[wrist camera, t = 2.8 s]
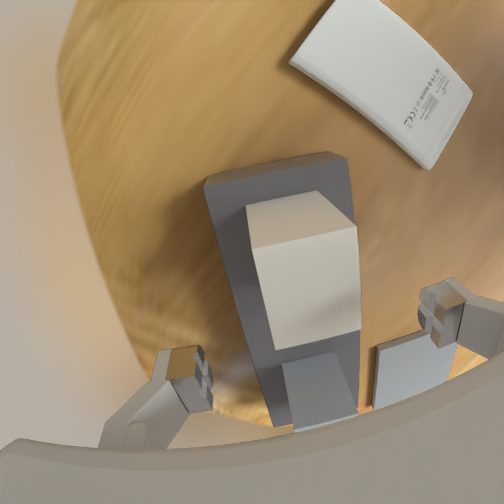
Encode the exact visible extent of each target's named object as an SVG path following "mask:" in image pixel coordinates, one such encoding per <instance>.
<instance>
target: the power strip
mask: <svg viewBox="0 0 504 504" xmlns="http://www.w3.org/2000/svg"><path fill="white" fill-rule="evenodd" d="M203 190H204V194H205V198H206V202H207V205H208V209H209V213H210V216H211V220H212V224H213V227H214V231H215V235H216V238H217V242H218V246H219V249H220V253H221V256H222V260H223V263H224V267H225V270H226V274H227V277H228V281H229V284H230V288H231V291H232V295H233V298H234V301H235V305H236V308H237V312H238V315H239V318H240V322H241V325H242V328H243V332H244V335H245V338H246V342H247V345H248V348H249V351H250V355H251V358H252V361H253V364H254V368H255V371H256V374H257V377H258V380H259V383H260V387H261V390H262V393H263V396H264V399H265V402H266V405H267V408H268V411H269V415H270V418H271V421H272V424H273V427H279V426H284V425H289V424H293V421H292V416H291V410H290V405H289V400H288V394H287V389H286V384H285V378H284V373H283V368H282V363H287V362H291V361H296V360H300V359H305V358H309V357H313V356H317V355H321V354H325V353H329V352H333V351H335V354H336V356H337V359H338V361H339V364H340V366H341V369H342V371H343V374H344V377H345V379H346V382H347V384H348V387H349V390H350V392H351V395H352V397H353V400H354V403H355V405H356V408H357V407H358V392H359V364H360V330H357V331H353V332H349V333H346V334H342V335H338V336H334V337H331V338H327V339H323V340H319V341H315V342H310V343H306V344H302V345H298V346H293V347H289V348H284V349H279V350H275V346H274V342H273V338H272V333H271V329H270V325H269V321H268V316H267V312H266V308H265V304H264V299H263V295H262V291H261V287H260V282H259V278H258V274H257V270H256V265H255V261H254V257H253V253H252V248H251V240H250V233H249V226H248V219H247V212H246V205H249V204H254V203H258V202H263V201H268V200H272V199H277V198H282V197H287V196H291V195H296V194H301V193H306V192H311V191H316V190H317V191H318V192H319V193H320V194H322V195H323V196H324V197H325V198H326V199H327V200H328V201H329V202H331V203H332V204H333V205H334V206H335V207H336V208H337V209H338V210H339V211H340V212H342V213H343V214H344V215H345V216H346V217H347V218H348V219H349V220H350V221H351V222H352V223H353V224H355V223H354V212H353V203H352V194H351V186H350V178H349V170H348V163H347V158H345V157H342V156H340V155H337V154H334V153H331V152H328V151H327V152H321V153H316V154H310V155H304V156H299V157H293V158H288V159H283V160H278V161H273V162H268V163H263V164H258V165H254V166H249V167H245V168H240V169H236V170H231V171H227V172H223V173H219V174H215V175H210V176H208V177H207V180H206V182H205V184H204V186H203Z"/></svg>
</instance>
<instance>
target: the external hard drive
mask: <svg viewBox="0 0 504 504" xmlns="http://www.w3.org/2000/svg"><path fill="white" fill-rule="evenodd" d="M288 64H290V65H291V66H293V67H295V68H296V69H298V70H299V71H301V72H302V73H304V74H306V75H307V76H309V77H310V78H311V79H313V80H315V81H316V82H318V83H319V84H321V85H322V86H323V87H325V88H326V89H328V90H329V91H331V92H332V93H333V94H335V95H336V96H338V97H339V98H340V99H342V100H343V101H344V102H346V103H347V104H348V105H350V106H351V107H352V108H354V109H355V110H356V111H358V112H359V113H360V114H361V115H363V116H364V117H365V118H366V119H368V120H369V121H370V122H371V123H373V124H374V125H375V126H376V127H377V128H379V129H380V130H381V131H382V132H383V133H385V134H386V135H387V136H388V137H389V138H390V139H391V140H393V141H394V142H395V143H396V144H397V145H398V146H399V147H401V148H402V149H403V150H404V151H405V152H406V153H407V154H408V155H409V156H410V157H411V158H413V159H414V160H415V161H416V162H417V163H418V164H419V165H420V166H421V167H422V168H423V169H426V170H428V171H429V170H430V169H431V168H432V167H433V166H434V164H435V162H436V161H437V159H438V157H439V156H440V154H441V152H442V151H443V149H444V147H445V146H446V144H447V142H448V140H449V139H450V137H451V135H452V133H453V132H454V130H455V128H456V126H457V125H458V123H459V121H460V119H461V117H462V116H463V114H464V112H465V110H466V108H467V106H468V104H469V103H470V101H471V99H472V96H473V92H472V91H471V90H470V88H469V87H468V86H467V85H466V84H465V83H464V81H463V80H462V79H461V78H460V77H459V75H458V74H457V73H456V72H455V71H454V70H453V69H452V68H451V66H450V65H449V64H448V63H447V62H446V61H445V60H444V59H443V58H442V57H441V56H440V55H439V54H438V53H437V51H436V50H435V49H434V48H433V47H432V46H431V45H430V44H428V43H427V42H426V41H425V40H424V39H423V38H422V37H421V36H420V35H419V34H418V33H417V32H416V31H415V30H414V29H413V28H411V27H410V26H409V25H408V24H407V23H406V22H405V21H404V20H402V19H401V18H400V17H399V16H398V15H396V14H395V13H394V12H393V11H392V10H390V9H389V8H388V7H387V6H385V5H384V4H383V3H382V2H380V1H379V0H334V2H333V3H332V4H331V5H330V7H329V8H328V9H327V10H326V12H325V13H324V14H323V16H322V17H321V18H320V20H319V21H318V22H317V24H316V25H315V26H314V28H313V29H312V30H311V32H310V33H309V34H308V36H307V37H306V38H305V40H304V41H303V42H302V44H301V45H300V46H299V48H298V49H297V51H296V52H295V53H294V55H293V56H292V58H291V59H290V60H289V62H288Z"/></svg>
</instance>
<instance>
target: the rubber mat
mask: <svg viewBox="0 0 504 504" xmlns="http://www.w3.org/2000/svg"><path fill="white" fill-rule="evenodd" d="M430 334H431V333H428V332H426V331H424V330H422V331H419V332H416V333H413V334H411V335H408V336H405V337H402V338H399V339H396V340H393V341H390V342H387V343H383V344H380V345H377V351H376V366H375V378H374V389H373V398H372V407H373V410H376V409H379V408H382V407H385V406H388V405H391V404H394V403H396V402H399V401H402V400H404V399H407V398H409V397H412V396H414V395H417V394H419V393H422V392H424V391H426V390H429V389H431V388H433V387H435V386H438V385H440V384H442V383H444V382H446V381H447V378H448V375H449V372H450V369H451V366H452V362H453V359H454V355H455V352H456V348H457V345H458V344H457V343H456V342H455V343H452V344H450V345H447V346H445V347H442V348H440V349H438V348H437V346H436V345H435V344H434V343H433V341H432V340H431V339H430Z"/></svg>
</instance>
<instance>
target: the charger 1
mask: <svg viewBox="0 0 504 504" xmlns="http://www.w3.org/2000/svg"><path fill="white" fill-rule="evenodd" d="M246 212H247V219H248V226H249V233H250V240H251V248H252V253H253V257H254V261H255V265H256V270H257V274H258V278H259V282H260V287H261V291H262V295H263V299H264V304H265V308H266V312H267V316H268V321H269V325H270V329H271V333H272V338H273V342H274V346H275V350H279V349H284V348H289V347H293V346H298V345H302V344H306V343H310V342H315V341H319V340H323V339H327V338H331V337H334V336H338V335H342V334H346V333H349V332H353V331H357V330H360V329H361V289H360V267H359V251H358V237H357V226H356V225H355V224H353V223H352V222H351V221H350V220H349V219H348V218H347V217H346V216H345V215H344V214H343V213H342V212H340V211H339V210H338V209H337V208H336V207H335V206H334V205H333V204H332V203H331V202H329V201H328V200H327V199H326V198H325V197H324V196H323V195H322V194H320V193H319V192H318V191H317V190H316V191H311V192H306V193H301V194H296V195H291V196H287V197H282V198H277V199H272V200H268V201H263V202H258V203H254V204H249V205H246Z"/></svg>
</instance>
